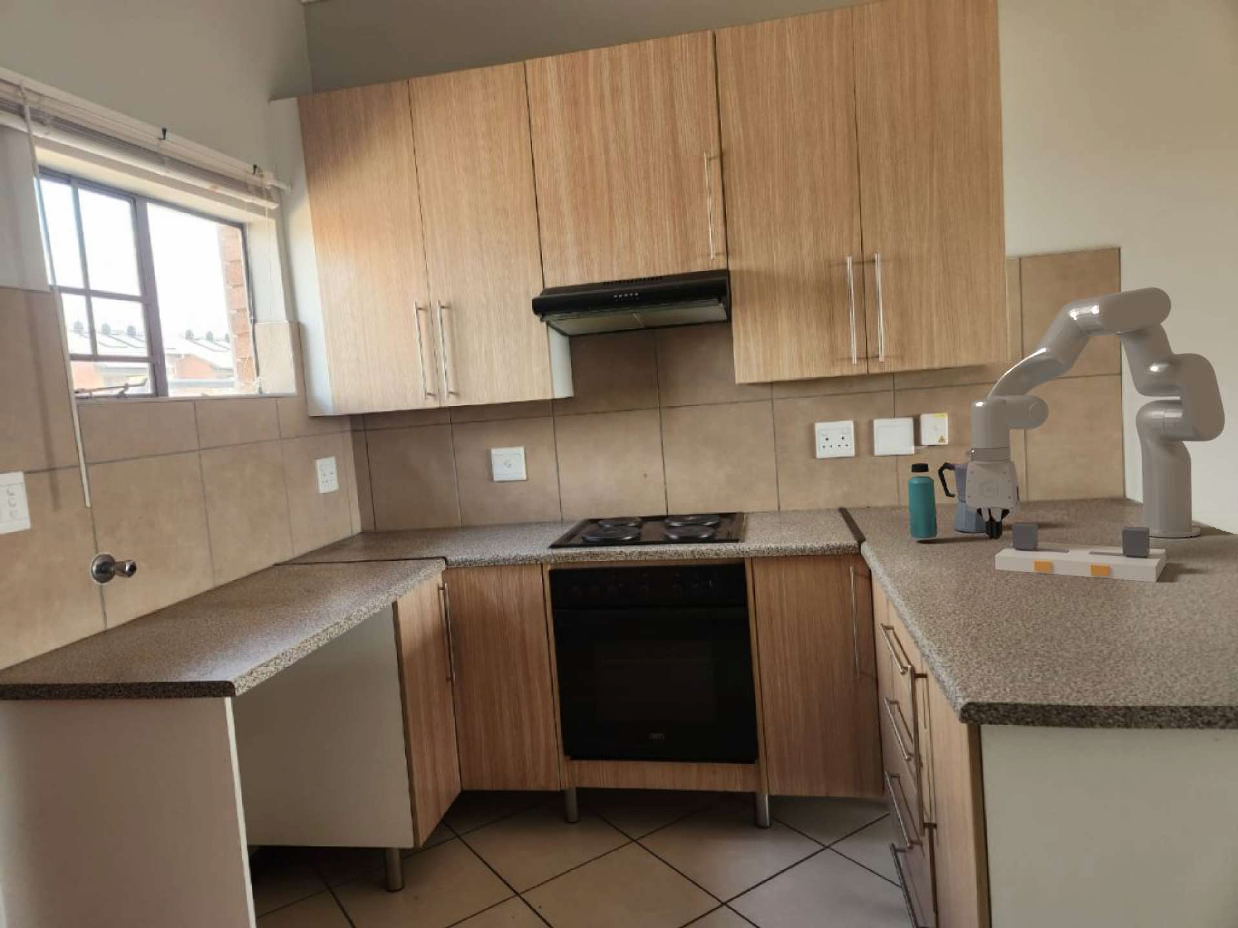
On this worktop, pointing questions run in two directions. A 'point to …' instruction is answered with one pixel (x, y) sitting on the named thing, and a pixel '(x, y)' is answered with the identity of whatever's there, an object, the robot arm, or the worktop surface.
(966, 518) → the moka pot
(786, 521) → the worktop surface
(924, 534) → the beverage bottle
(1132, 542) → the right knob
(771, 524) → the worktop surface
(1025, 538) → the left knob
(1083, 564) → the switch panel
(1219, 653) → the worktop surface
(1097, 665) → the worktop surface
